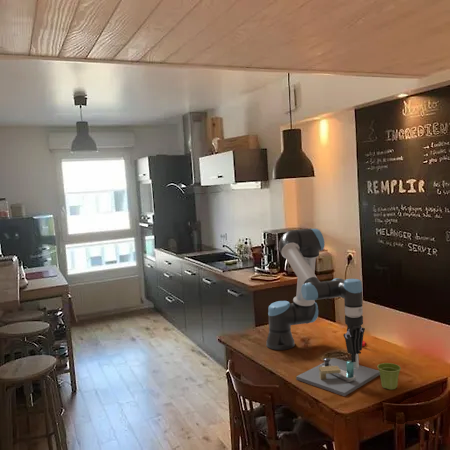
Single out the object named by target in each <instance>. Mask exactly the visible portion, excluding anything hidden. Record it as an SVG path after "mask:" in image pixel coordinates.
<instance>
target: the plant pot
mask: <svg viewBox="0 0 450 450" xmlns="http://www.w3.org/2000/svg"><path fill="white" fill-rule="evenodd" d="M376 368H377V370H378V371H379V372H380V375H379V376H380V377H379V378H380V382H381V387H382V388H383V389H387V390H396V389H397V388H398V383H399V375H400V371H401V369H402V368H401V366H400V365H398V364H396V363H393V362H383V363H379V364H377V366H376Z"/></svg>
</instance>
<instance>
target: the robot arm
mask: <svg viewBox="0 0 450 450" xmlns="http://www.w3.org/2000/svg"><path fill="white" fill-rule="evenodd" d="M325 246H326V245H325V239H324V235H323V233H322V231H321V230H320V229H318V228H303V229H292V230H291V229H290V230H288V231H286V232H285V233H283V235H282V236H281V237H280V239H279V242H278V250H279V253H280V255H281V256H282V257H283V258H284V259H286V260H287V262H288V264H289V265H290V268H291V269H292V271H293V272H294V274H295V276H296V277H297V283H296V294H295V295H296V296H294V297H293V299H292V303H290V301H287V300H278V301H275V302H272V303H270V305H268V312H267V314H268V315H267V316H268V335H267V339H266V341H265V342H266V347H267V348H269V349H271V350H276V351H283V350H284V351H286V350H290V349H293V348H294V347H295V345H296V344H295V340H294V337H293V334H292V330H291V328H292V326H295V325H303V324H304V325H306V324H307V325H308V324H311V323H315V321H317V320H318V317H319V306H318V303H317V302H316V301H317V300H324V299H325V300H326V299H334V298H342V299H343V300H344V324H345V325H346V333H343V337H344V341H345V346H346V347H345V348H346V351H347V354H350V361H353V365H354V368H355V369H359V365H360V364H359V363H360V362H359V359H360V356H359V354H362V352H361V351H363V346H362V344H363V341H364V334H365V328H364V327H362V326H363V325H364V316H363V314H364V311H363V309H364V307H363V290H364V289H363V282H362V280H360V279H359V278H347V279H343V278H339V277H336V278H333V279H332V280H326V281H320V279H318V277H317V276H316V274H315V271H316V259H317V258H318V257H319V255H320V252H322V251H324V250H325Z"/></svg>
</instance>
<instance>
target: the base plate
mask: <svg viewBox="0 0 450 450" xmlns="http://www.w3.org/2000/svg"><path fill="white" fill-rule="evenodd" d="M346 361H347V360H343V359H339V358H336V357H333V358H330V361H329V363H330V364H332V365H333V366H338V367H339V369H341V370H344V371H346ZM323 363H325V361H323V362H322V363H321V364H323ZM318 367H320V364H319V365H316V366H314V367H312V368H310V369H308V370H306V371H304V372H302V373H300V374H298V375H297V376H295V378H296V381H299V382H302V383H305V384H308V385H311V386H312V387H317V388H319V389H322V390H326V391H328V392H331V393H334V394H337V395H340V396H343V397H346V396H348V395H349V394H351V393H353V392H354V391H356V390H358V389H359V388H361V387H363V386H364V385H366V384H367V383H369V382H370V381H372V380H375V379H376V378H377V377H379V376H380V372H379V369H375V368H370V367H367V366H363V365H360V364H359V369H355V368H354V376H356V380H354V381H351V382H348V381H346V380H344V379H342V378H340V377H338V376H336V375H334V374H332V373H329V374H326V379H323V380H321V379H320V377H319V369H318Z"/></svg>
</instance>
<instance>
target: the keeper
mask: <svg viewBox="0 0 450 450" xmlns="http://www.w3.org/2000/svg"><path fill="white" fill-rule="evenodd" d="M318 369H319V377H320V379H321V380H323V379H326V374H329V373H341V370H340V369H339V367H338V366H325V367H318Z"/></svg>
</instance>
